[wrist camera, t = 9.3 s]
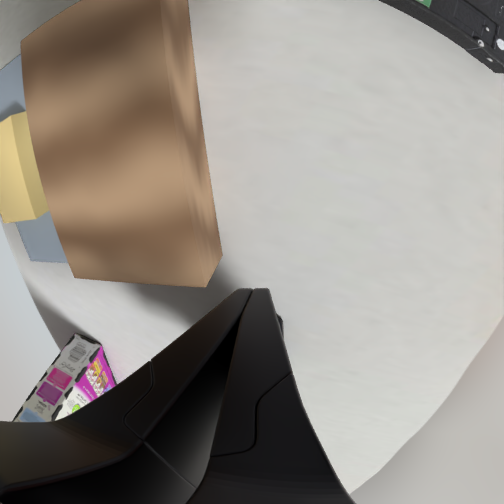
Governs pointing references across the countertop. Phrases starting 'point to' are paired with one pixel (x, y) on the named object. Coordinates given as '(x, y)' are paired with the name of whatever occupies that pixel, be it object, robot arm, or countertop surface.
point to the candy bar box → (69, 382)
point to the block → (19, 172)
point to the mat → (42, 229)
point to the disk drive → (464, 25)
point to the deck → (122, 141)
